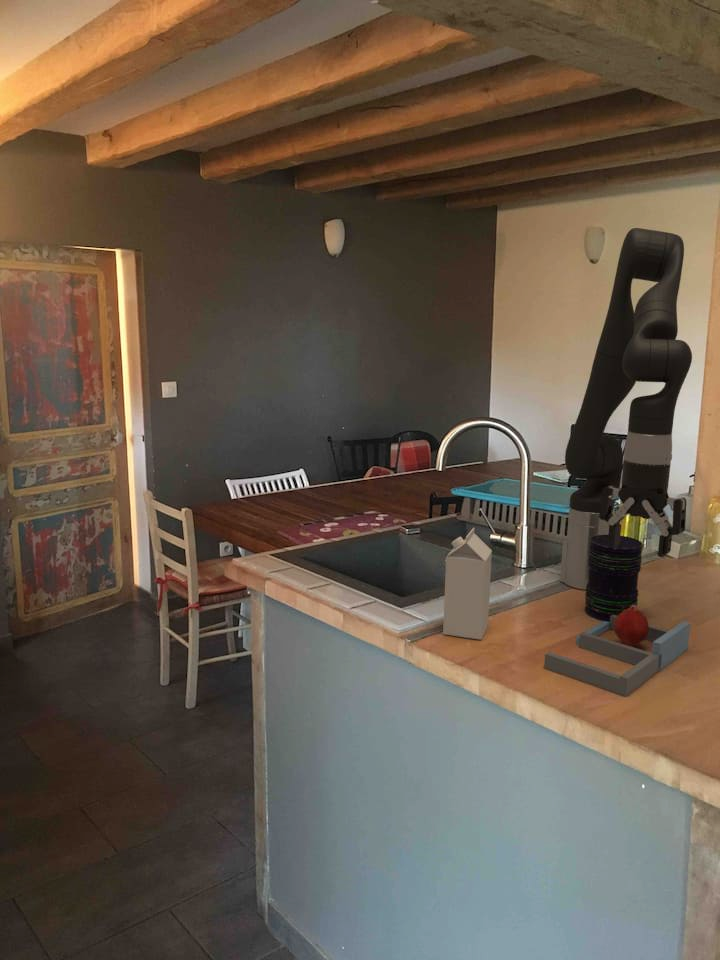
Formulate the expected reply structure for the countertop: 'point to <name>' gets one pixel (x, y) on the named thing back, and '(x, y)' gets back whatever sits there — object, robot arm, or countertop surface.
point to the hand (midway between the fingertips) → (638, 550)
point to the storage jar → (612, 576)
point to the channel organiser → (622, 657)
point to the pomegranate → (631, 626)
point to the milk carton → (467, 588)
